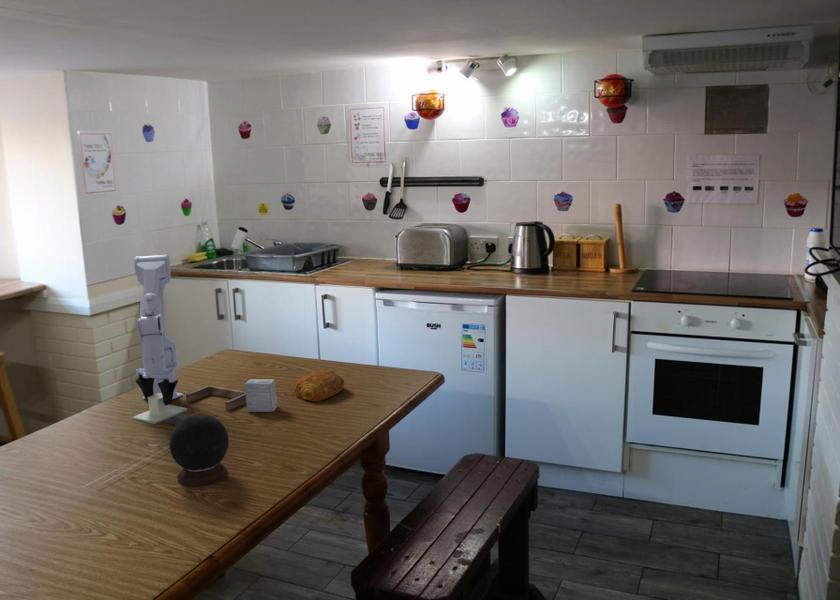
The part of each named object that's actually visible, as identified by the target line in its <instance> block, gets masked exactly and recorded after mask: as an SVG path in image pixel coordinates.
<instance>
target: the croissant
mask: <svg viewBox="0 0 840 600" xmlns="http://www.w3.org/2000/svg"><path fill="white" fill-rule="evenodd" d="M344 386H345V380H344V378H343V377H342V376H341V375H339V374H338V373H336V372H335V371H331V370H317V371H313V372H310V373H308V374H306V375H304V376H302V377H300V378H299V379H297V381H296V384H295V387H294V394H295V396H296V397H297V398H299V399H302V400H305V401H306V400H307V401H310V402H320V401H324V400H327V399H328V398H331V397H333V396H335V395H336V394H338V393H340V392H341V391H342V390H343V388H344Z"/></svg>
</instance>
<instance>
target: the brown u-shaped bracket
mask: <svg viewBox="0 0 840 600" xmlns="http://www.w3.org/2000/svg"><path fill="white" fill-rule="evenodd" d="M209 395H212V396H217V397H221V398H226V399H227V398H228V400H226V401H224V403H225V404H224V405H225V411H228V412H229V411H232V410H233V409H235V408H237V407H239V406H242V405H244V404H246V392H245V390H244V391H243V390H237V389H232V388H228V387H227V388H226V387H222V386H221V387H220V386H215V385H212V384H211V385H210V384H209V385H206V386H204V387H201V388H198V389H196V390H194V391H191V392H188V393H185V397H186V403H187V404H189V403H191V402H194V401H197V400H199V399H201V398H204V397H207V396H209Z"/></svg>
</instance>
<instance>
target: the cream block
mask: <svg viewBox="0 0 840 600" xmlns="http://www.w3.org/2000/svg"><path fill="white" fill-rule="evenodd" d="M147 404H148V411H149V413H150V414H153V415H157V416H161V415H163V414H165V413H168V412H170V405H171V404H169V405H167V406H166V405H164V402H163V396H162V394H161V393H158V394H155V395H153V396H150V397H148V403H147Z"/></svg>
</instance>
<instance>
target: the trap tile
mask: <svg viewBox="0 0 840 600" xmlns="http://www.w3.org/2000/svg"><path fill="white" fill-rule="evenodd" d="M188 416H189V415H185V414H182V413H180V414H177V415H175V416H172V417H170V418H168V419H165V420H163V423H164V424H169V425H173V426H176V425H177V424H178V423H179V422H181V421H182V420H183V419H184V418H186V417H188Z"/></svg>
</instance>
